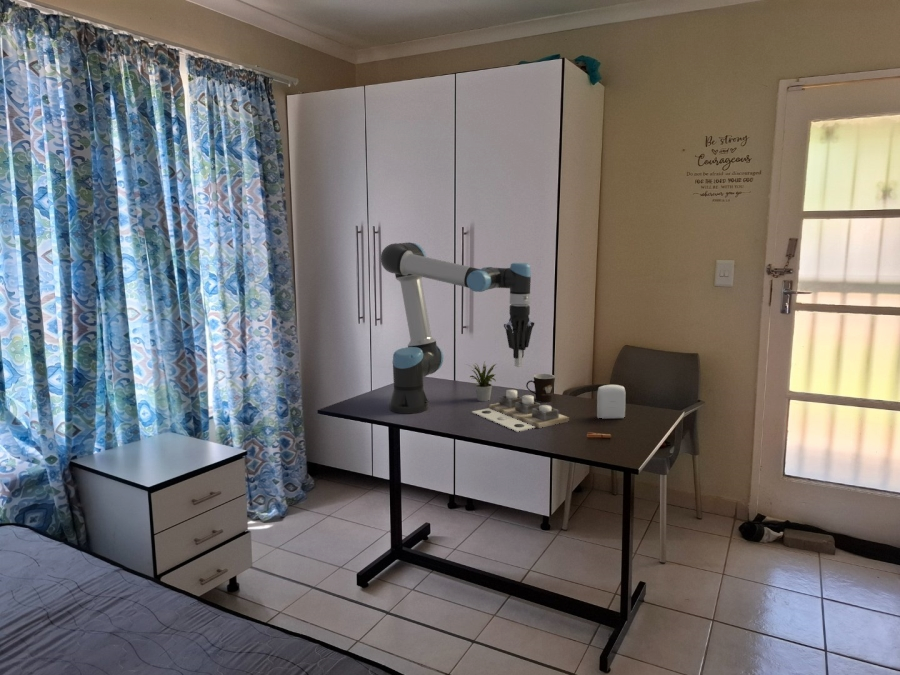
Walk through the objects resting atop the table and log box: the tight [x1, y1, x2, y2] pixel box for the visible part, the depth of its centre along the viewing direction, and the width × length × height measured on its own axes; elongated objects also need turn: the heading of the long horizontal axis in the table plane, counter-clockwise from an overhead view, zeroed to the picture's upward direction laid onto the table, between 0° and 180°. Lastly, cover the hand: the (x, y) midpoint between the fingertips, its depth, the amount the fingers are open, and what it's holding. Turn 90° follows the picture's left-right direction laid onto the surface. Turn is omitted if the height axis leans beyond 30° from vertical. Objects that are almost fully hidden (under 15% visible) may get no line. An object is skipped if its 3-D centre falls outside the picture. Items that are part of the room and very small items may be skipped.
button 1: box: [505, 389, 518, 400], centre depth 246 cm, size 4×4×4 cm
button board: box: [489, 395, 570, 429], centre depth 239 cm, size 30×14×4 cm, turn 32°
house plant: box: [464, 361, 498, 402], centre depth 258 cm, size 14×14×16 cm
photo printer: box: [596, 384, 627, 419], centre depth 233 cm, size 10×4×12 cm, turn 89°
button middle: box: [521, 394, 535, 406], centre depth 238 cm, size 4×4×4 cm
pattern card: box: [471, 407, 536, 433], centre depth 233 cm, size 28×8×1 cm, turn 32°
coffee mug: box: [525, 373, 556, 403], centre depth 258 cm, size 12×9×10 cm
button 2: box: [539, 404, 553, 412], centre depth 230 cm, size 4×4×4 cm
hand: (518, 366), depth 240 cm, fingers closed
